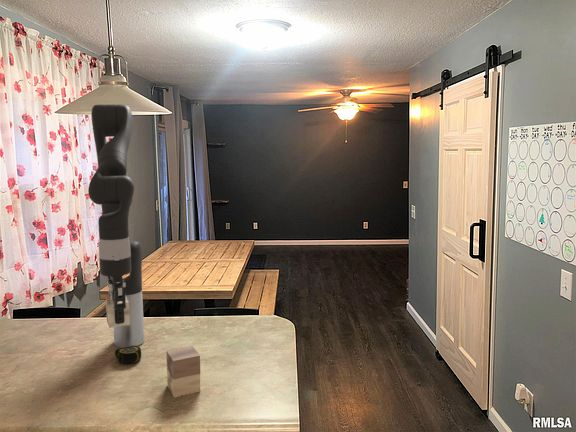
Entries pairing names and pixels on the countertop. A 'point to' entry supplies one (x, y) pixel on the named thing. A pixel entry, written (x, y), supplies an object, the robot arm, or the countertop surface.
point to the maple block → (111, 313)
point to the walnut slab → (183, 362)
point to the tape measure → (128, 354)
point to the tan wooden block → (183, 384)
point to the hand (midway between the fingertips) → (118, 319)
